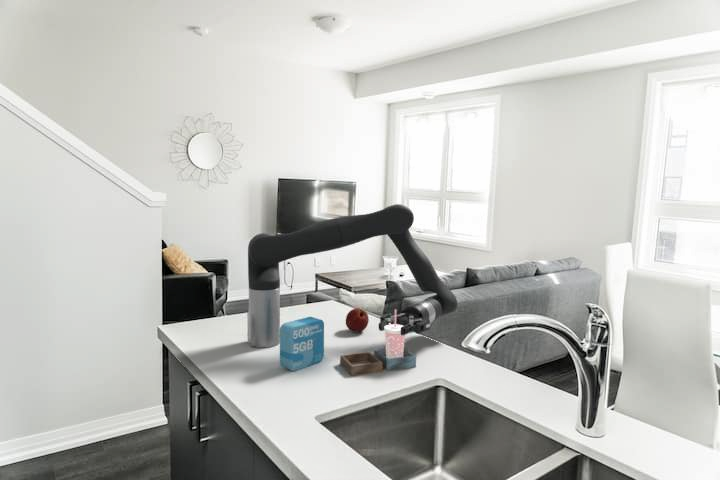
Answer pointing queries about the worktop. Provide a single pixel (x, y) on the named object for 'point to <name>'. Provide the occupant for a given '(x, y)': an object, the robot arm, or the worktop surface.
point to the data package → (301, 343)
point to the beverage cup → (394, 340)
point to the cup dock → (376, 362)
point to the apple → (357, 320)
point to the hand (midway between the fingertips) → (391, 329)
